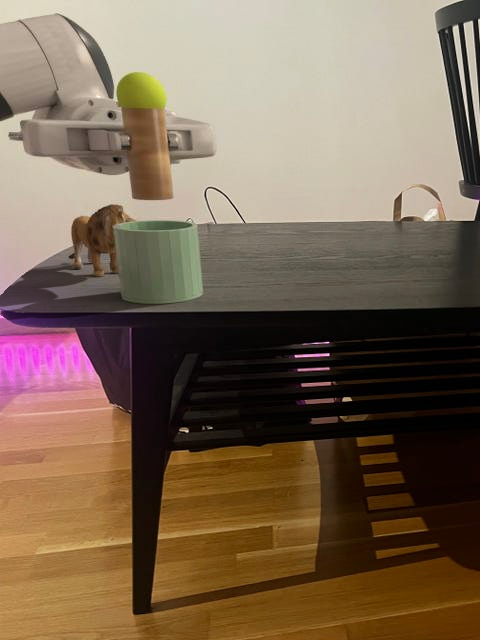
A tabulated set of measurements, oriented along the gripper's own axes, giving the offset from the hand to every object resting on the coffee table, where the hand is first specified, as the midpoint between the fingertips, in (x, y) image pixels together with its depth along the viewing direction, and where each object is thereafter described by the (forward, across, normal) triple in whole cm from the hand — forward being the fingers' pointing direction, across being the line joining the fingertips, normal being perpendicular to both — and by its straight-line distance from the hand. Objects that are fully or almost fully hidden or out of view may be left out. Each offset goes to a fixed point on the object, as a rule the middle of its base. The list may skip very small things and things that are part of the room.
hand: (150, 142), depth 75 cm
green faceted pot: (-1, 0, +17) cm, 17 cm away
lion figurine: (-18, -1, +17) cm, 25 cm away
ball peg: (-1, 0, +6) cm, 6 cm away
